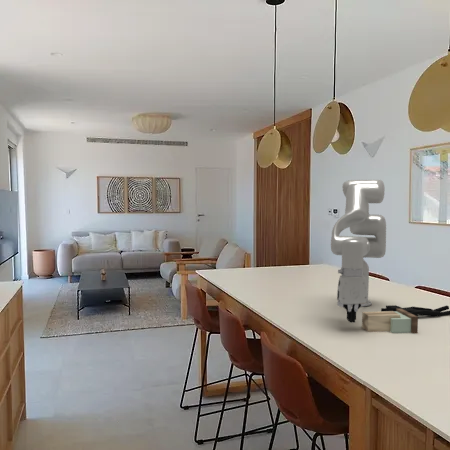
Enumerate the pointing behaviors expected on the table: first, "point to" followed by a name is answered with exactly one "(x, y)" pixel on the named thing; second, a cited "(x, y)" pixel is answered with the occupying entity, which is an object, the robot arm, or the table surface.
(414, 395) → the table surface
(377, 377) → the table surface
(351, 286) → the robot arm
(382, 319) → the beige wooden brick
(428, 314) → the toy
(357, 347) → the table surface
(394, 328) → the block
